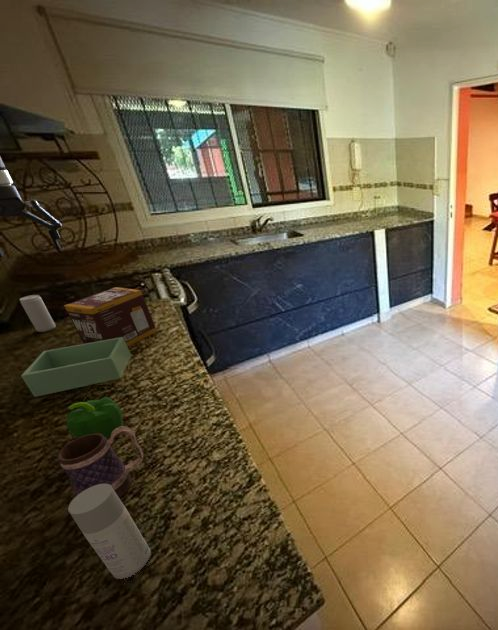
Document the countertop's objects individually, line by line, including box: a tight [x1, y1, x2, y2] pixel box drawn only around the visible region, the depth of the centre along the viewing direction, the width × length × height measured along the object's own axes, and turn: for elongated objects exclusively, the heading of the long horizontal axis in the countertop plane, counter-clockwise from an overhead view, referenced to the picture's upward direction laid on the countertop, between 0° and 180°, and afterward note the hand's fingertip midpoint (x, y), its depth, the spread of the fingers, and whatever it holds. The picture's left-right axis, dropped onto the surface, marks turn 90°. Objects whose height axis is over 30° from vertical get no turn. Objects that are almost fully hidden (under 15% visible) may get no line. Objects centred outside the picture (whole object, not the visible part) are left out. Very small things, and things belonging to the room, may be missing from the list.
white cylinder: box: [19, 294, 57, 333], centre depth 115 cm, size 5×5×12 cm
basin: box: [21, 337, 132, 398], centre depth 93 cm, size 18×13×7 cm
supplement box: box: [63, 286, 158, 348], centre depth 108 cm, size 10×15×16 cm
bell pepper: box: [66, 396, 124, 440], centre depth 73 cm, size 8×8×10 cm
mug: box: [57, 425, 144, 499], centre depth 61 cm, size 10×7×12 cm
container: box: [67, 484, 152, 580], centre depth 49 cm, size 5×5×15 cm
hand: (31, 252), depth 115 cm, fingers open, 13 cm apart
